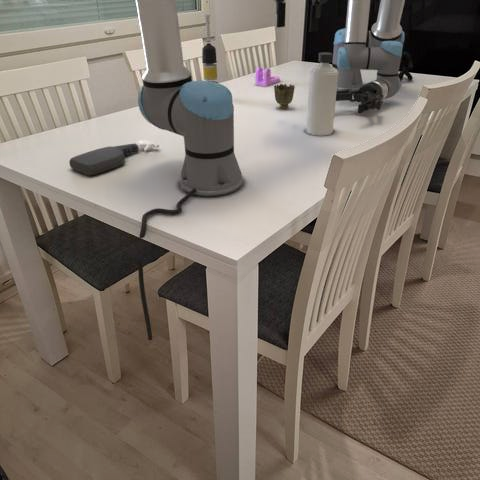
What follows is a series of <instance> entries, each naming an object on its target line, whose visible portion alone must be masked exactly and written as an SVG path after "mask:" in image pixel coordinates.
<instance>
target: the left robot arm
mask: <svg viewBox="0 0 480 480" xmlns="http://www.w3.org/2000/svg"><path fill="white" fill-rule="evenodd" d="M328 1H329V0H311V5H310V10H309V11H310V13H309V26H308V27H309V29H308V32H311V33H313V32H319V20H320V18H321V13H322V6H323V4H325V3H328ZM274 2H275V14H276V28H278V29H279V28H285V27H286V5H287V3H286V0H274ZM135 3H136V9H137V15H138V21H139V28H140V34H141V40H142V45H143V51H144V56H145V58H144V59H145V63H146V71H145V72H144V74H143V75H142V76H141V77H142V83H143V84H142V85H141V87H140V91H138V95H137V97H138V98H137V104H138V105H137V106H138V109H139V112H140V113H141V115H142V117H143V118H144V120H146V121H147V122H148V123H149V124H151V125H153V126H154V127H156V128H158V129H160V130H163V131H167V132H171V133H173V134H175V135H178V136H181V137H183V143H184V154H185V155H184V158H183V164H182V168H181V171H180V177H179V178H180V179H179V183H180V184H179V185H180V188H181V189H182V191H184V192H186V193H187V194H185V196H183V197H182V198H181V199H179V200H178V202H177V203H176V205H175V207H176V209H166V208H152V209H151V210H148V211H146V212H145V213H144V214H143V215H142V217H141V225H140V226H141V227H140V231H139V236H138V238H140V239H143V238H145V234H146V231H147V223H148V217H151V216H152V215H155V214H165V215H172V216H173V215H178V214H180V213H182V210H183V207H182V205H184V203H186V202H187V201H188V200H189V199H190V198H191V197H192V196H199V197H221V196H224V195H229V194H232V193H234V192H235V191H237V190H239V189H240V188H241V187H242V185H243V174H242V171H241V168H240V165H239V163H238V160H237V157H236V154H235V125H234V124H235V121H234V119H235V115H234V114H235V113H234V112H235V110H234V109H235V106H234V102H233V94H232V92H231V90H230V89H229V87H227V86H226V85H223V84H221V83H219V82H218V83H215V82H216V81H215V82H207V80H193V78H192V77H193V76H192V72H191V70H190V69H189V68H187V67H186V66H185V63H184V56H183V55H184V54H183V49H182V48H183V47H182V39H181V31H180V25H179V24H180V23H179V15H178V7H177V0H135ZM137 268H138V269H137V271H138V281H139V282H138V283H139V285H138V286H139V292H140V299H141V304H142V310H143V315H144V321H145V327H146V333H147V340H148V341H152V340H153V331H152V326H151V320H150V319H151V318H150V314H149V309H148V303H147V302H148V301H147V296H146V289H145V280H144V279H145V278H144V262H143V261H141V260H138V261H137Z"/></svg>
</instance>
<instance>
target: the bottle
mask: <svg viewBox="0 0 480 480" xmlns="http://www.w3.org/2000/svg"><path fill="white" fill-rule="evenodd" d="M308 81H309V82H308V96H307V113H306V114H307V115H306V130H305V131H306V133H307V134H309V135H312V136H320V137H321V136H324V137H325V136H328V135H332V134H333V132H334V125H335V124H334V123H335V111H336V103H337V101H336V92H337V82H338V71H337V70H336V69H335V68H333V67H332V64H330V63H320V62H319V64H318V65H317V66H315V67H314V68H312V69H310V71H309V80H308Z"/></svg>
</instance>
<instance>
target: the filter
mask: <svg viewBox="0 0 480 480" xmlns="http://www.w3.org/2000/svg"><path fill="white" fill-rule="evenodd" d="M210 17H211V14H204V18H205V27H206V29H205V30H206V31H205V33H206V39H207V40H206V42H207V43H206V45H204V46H202V49H201V50H202V51H201V52H202V54H201V55H202V57H201V58H202V61H201V63H202V71H203V72H202V73H203V74H202V75H203V81H206V82H215V83H219V82H218V81H216V80H218V64H216V63H218V61H217V48H216V47H215V46H214V45H212V43H210V42H211V40H210V39H211V31H210V29H211V28H210Z"/></svg>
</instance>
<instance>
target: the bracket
mask: <svg viewBox="0 0 480 480" xmlns="http://www.w3.org/2000/svg"><path fill="white" fill-rule="evenodd" d="M254 75H255V76H254V77H255V78H254V80H255V86H262V87H268V86H270V85H273V84H276V83H279V82H280V76H273V75H272V72H271V69H270V68H268V67H266V68H264V69H263V67H259V66H258V67H256V68H255V74H254Z"/></svg>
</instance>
